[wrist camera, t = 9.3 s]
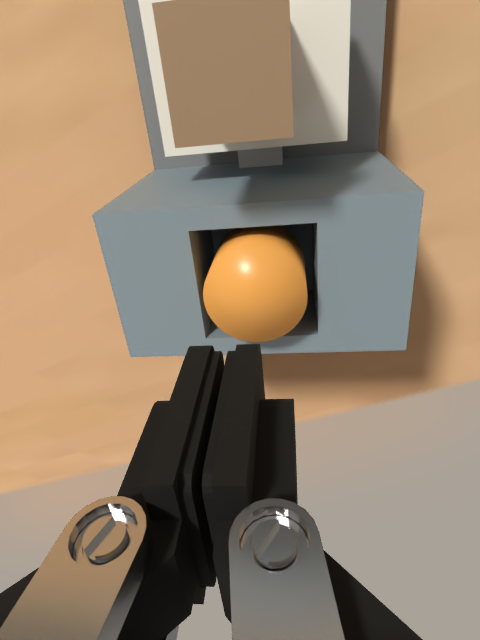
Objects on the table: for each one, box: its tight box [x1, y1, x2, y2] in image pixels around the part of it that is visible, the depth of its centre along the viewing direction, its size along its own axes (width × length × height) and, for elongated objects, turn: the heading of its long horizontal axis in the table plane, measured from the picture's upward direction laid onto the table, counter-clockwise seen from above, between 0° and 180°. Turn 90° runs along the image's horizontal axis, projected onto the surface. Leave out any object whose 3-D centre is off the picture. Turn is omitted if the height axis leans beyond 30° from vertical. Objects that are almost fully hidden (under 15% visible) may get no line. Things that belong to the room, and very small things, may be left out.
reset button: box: [203, 225, 308, 342], centre depth 16 cm, size 4×4×3 cm
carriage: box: [138, 0, 351, 157], centre depth 14 cm, size 7×5×10 cm
